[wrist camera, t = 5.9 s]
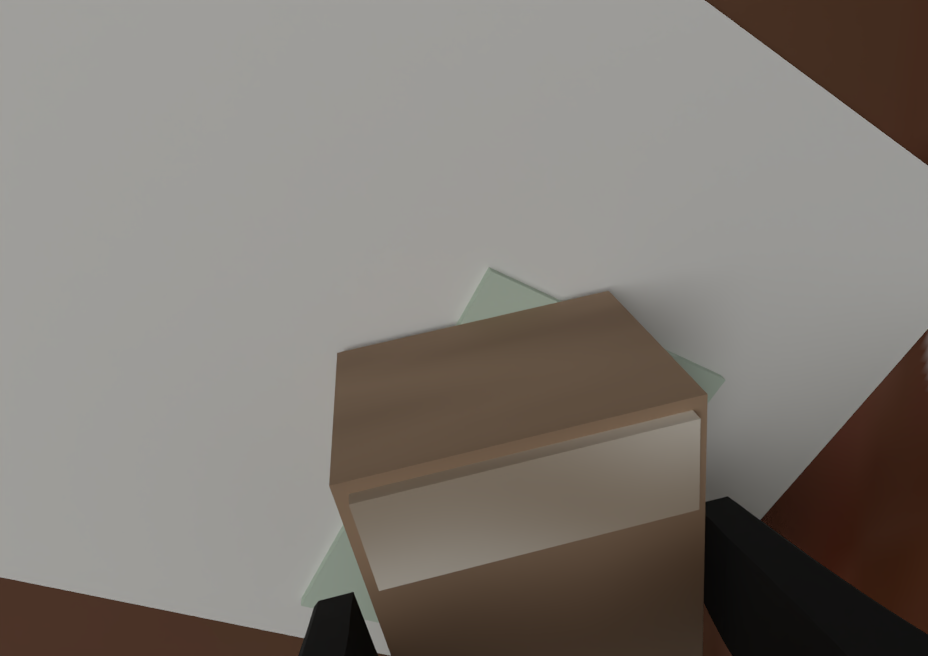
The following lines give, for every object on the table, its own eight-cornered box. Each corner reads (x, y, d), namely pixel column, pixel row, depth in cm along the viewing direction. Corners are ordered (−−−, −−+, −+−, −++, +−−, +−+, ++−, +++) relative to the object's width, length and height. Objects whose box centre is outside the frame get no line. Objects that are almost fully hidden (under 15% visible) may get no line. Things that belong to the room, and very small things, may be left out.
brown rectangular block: (628, 586, 15) (705, 747, 11) (426, 639, 14) (447, 820, 11) (608, 290, 11) (715, 402, 8) (337, 352, 11) (329, 496, 7)
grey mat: (986, 221, 13) (1024, 233, 12) (596, 678, 17) (606, 705, 17) (-206, -650, 6) (-284, -743, 5) (-298, 486, 11) (-345, 518, 10)
